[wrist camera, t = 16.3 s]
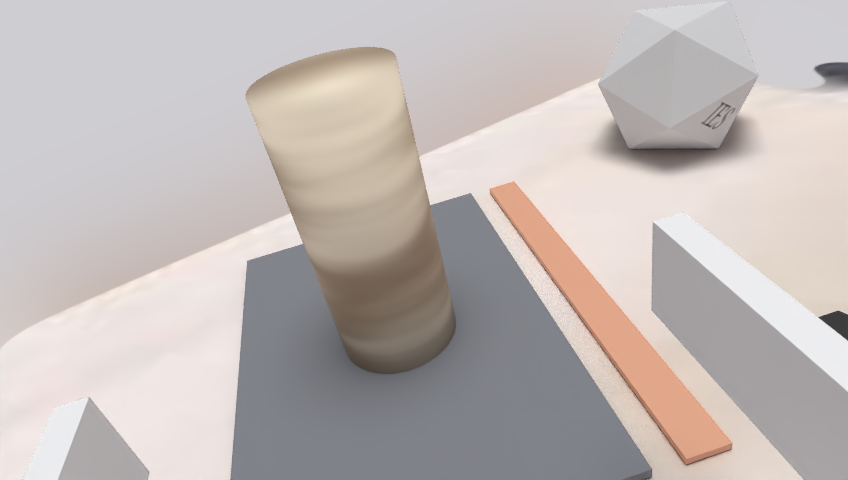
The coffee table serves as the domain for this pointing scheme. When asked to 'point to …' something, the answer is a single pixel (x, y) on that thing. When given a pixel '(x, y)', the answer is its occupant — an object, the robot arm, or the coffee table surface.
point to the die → (679, 76)
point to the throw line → (616, 335)
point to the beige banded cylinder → (359, 202)
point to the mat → (421, 382)
